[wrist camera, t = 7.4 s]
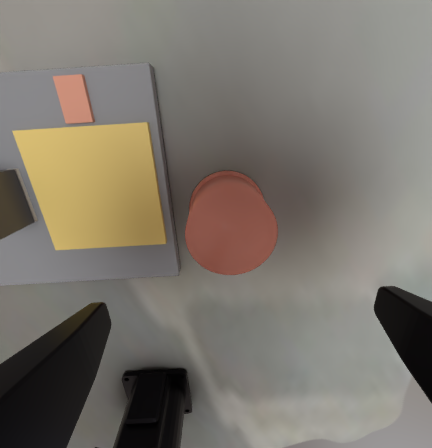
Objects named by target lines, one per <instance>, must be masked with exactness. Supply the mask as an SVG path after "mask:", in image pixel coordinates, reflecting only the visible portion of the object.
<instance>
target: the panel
mask: <svg viewBox="0 0 432 448" xmlns="http://www.w3.org/2000/svg"><path fill="white" fill-rule="evenodd" d="M9 169H15V171H16V174H17V177H18V179H19V182H20V185H21V187H22V190H23V192H24V195H25V198H26V200H27V203H28V205H29V208H30V211H31V213H32V216H33V218H34V221H35V222H34V223H32V224H30V225H28V226H26V227H24V228H22V229H21V230H19V231H17V232H15V233H13V234H11V235H9V236H7V237H5V238H3V239H1V240H0V285H17V284H35V283H53V282H71V281H89V280H107V279H125V278H143V277H161V276H179V272H180V261H179V254H178V247H177V239H176V232H175V225H174V217H173V210H172V203H171V195H170V188H169V181H168V173H167V166H166V158H165V151H164V144H163V136H162V129H161V122H160V114H159V107H158V100H157V92H156V85H155V78H154V70H153V67H152V66H151V65H150V64H149V63H136V64H121V65H106V66H91V67H75V68H60V69H45V70H30V71H15V72H0V170H9Z"/></svg>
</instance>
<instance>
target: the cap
mask: <svg viewBox="0 0 432 448" xmlns="http://www.w3.org/2000/svg"><path fill="white" fill-rule="evenodd" d="M189 212H190V213H189V217H188V220H187V224H186V229H185V240H186V244H187V247H188V250H189V252H190V254H191V255H192V257H193V258H194V259H195V260H196V261H197V262H198V263H199V264H200V265H201V266H202V267H204V268H206V269H207V270H209V271H212V272H215V273H218V274H223V275H237V274H242V273H246V272H249V271H251V270H253V269H255V268H257V267H258V266H260V265H261V264H262V263H263V262H264V261H265V260H266V259H267V258H268V257H269V256H270V254H271V253H272V251H273V249H274V247H275V245H276V241H277V236H278V227H277V222H276V218H275V216H274V214H273V212H272V210H271V209H270V208H269V206H268V205H267V203H266V202H265V201H264V198H263V195H262V193H261V191H260V189H259V188H258V186H257V185H256V184H255V183H254V182H253V180H251V179H250V178H249V177H247V176H246V175H244V174H242V173H239V172H235V171H219V172H215V173H213V174H210V175H209V176H207V177H205V178H204V179H203V180H202V181H201V182H200V183H199V184H198V185H197V186H196V188H195V189H194V191H193V194H192V196H191V200H190V205H189Z"/></svg>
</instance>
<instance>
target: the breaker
mask: <svg viewBox="0 0 432 448" xmlns="http://www.w3.org/2000/svg"><path fill="white" fill-rule="evenodd" d="M34 222H35V221H34V218H33V216H32V213H31V211H30V208H29V205H28V203H27V200H26V198H25V195H24V192H23V190H22V187H21V185H20V182H19V179H18V177H17V174H16V171H15V169H9V170H0V240H1V239H3V238H5V237H7V236H9V235H11V234H13V233H15V232H17V231H19V230H21V229H22V228H24V227H26V226H28V225H30V224H32V223H34Z"/></svg>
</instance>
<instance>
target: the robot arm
mask: <svg viewBox="0 0 432 448" xmlns="http://www.w3.org/2000/svg"><path fill="white" fill-rule="evenodd" d="M374 312H375V314H376V316H377V318H378V320H379V321H380V323H381V325H382V327H383V328H384V330H385V332H386V333H387V335H388V337H389V339H390V340H391V342H392V344H393V346H394V347H395V349H396V351H397V353H398V354H399V356H400V358H401V359H402V361H403V362H404V364H405V365H406V367H407V368H408V370H409V371H410V373H411V374H412V376H413V377H414V378H415V380H416V381H417V383H418V384H419V386H420V387H421V389H422V390H423V391H424V393H425V394H426V396H427V397H428V399H429V400H430V402H431V403H432V302H431V301H428V300H426V299H424V298H421V297H419V296H417V295H414V294H412V293H410V292H407V291H405V290H402V289H400V288H398V287H395V286H383V287H380V288H379V289H378V292H377V296H376V300H375V304H374ZM110 329H111V319H110V316H109V312H108V309H107V306H106V304H105V303H103V302H97V303H91V304H89V305H88V306H86V307H85V308H83V309H82V310H80V311H79V312H77V313H76V314H74V315H73V316H71V317H70V318H68V319H67V320H65V321H64V322H62V323H61V324H59V325H58V326H56V327H55V328H53V329H52V330H50V331H49V332H47V333H46V334H44V335H43V336H41V337H40V338H38V339H37V340H35V341H34V342H32V343H31V344H29V345H28V346H27V347H25V348H24V349H22V350H21V351H19V352H18V353H16V354H15V355H13V356H12V357H10V358H9V359H7V360H6V361H4V362H3V363H1V364H0V448H66V447H67V445H68V443H69V440H70V438H71V435H72V433H73V431H74V428H75V426H76V423H77V421H78V419H79V416H80V414H81V411H82V409H83V407H84V404H85V402H86V399H87V397H88V395H89V392H90V390H91V387H92V385H93V382H94V380H95V377H96V374H97V371H98V368H99V365H100V362H101V359H102V355H103V352H104V349H105V346H106V342H107V339H108V336H109V333H110ZM122 382H123V385H124V388H125V391H126V395H127V398H128V402H127V405H126V408H125V412H124V415H123V418H122V421H121V424H120V427H119V431H118V434H117V437H116V440H115V443H114V446H113V448H180V446H181V436H182V427H183V417H184V414H188V413H191V412H192V403H191V396H190V390H189V383H188V377H187V372H186V371H185V370H182V369H181V370H161V371H142V372H126V373H124V374H123V377H122ZM95 448H97V447H95Z"/></svg>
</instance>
